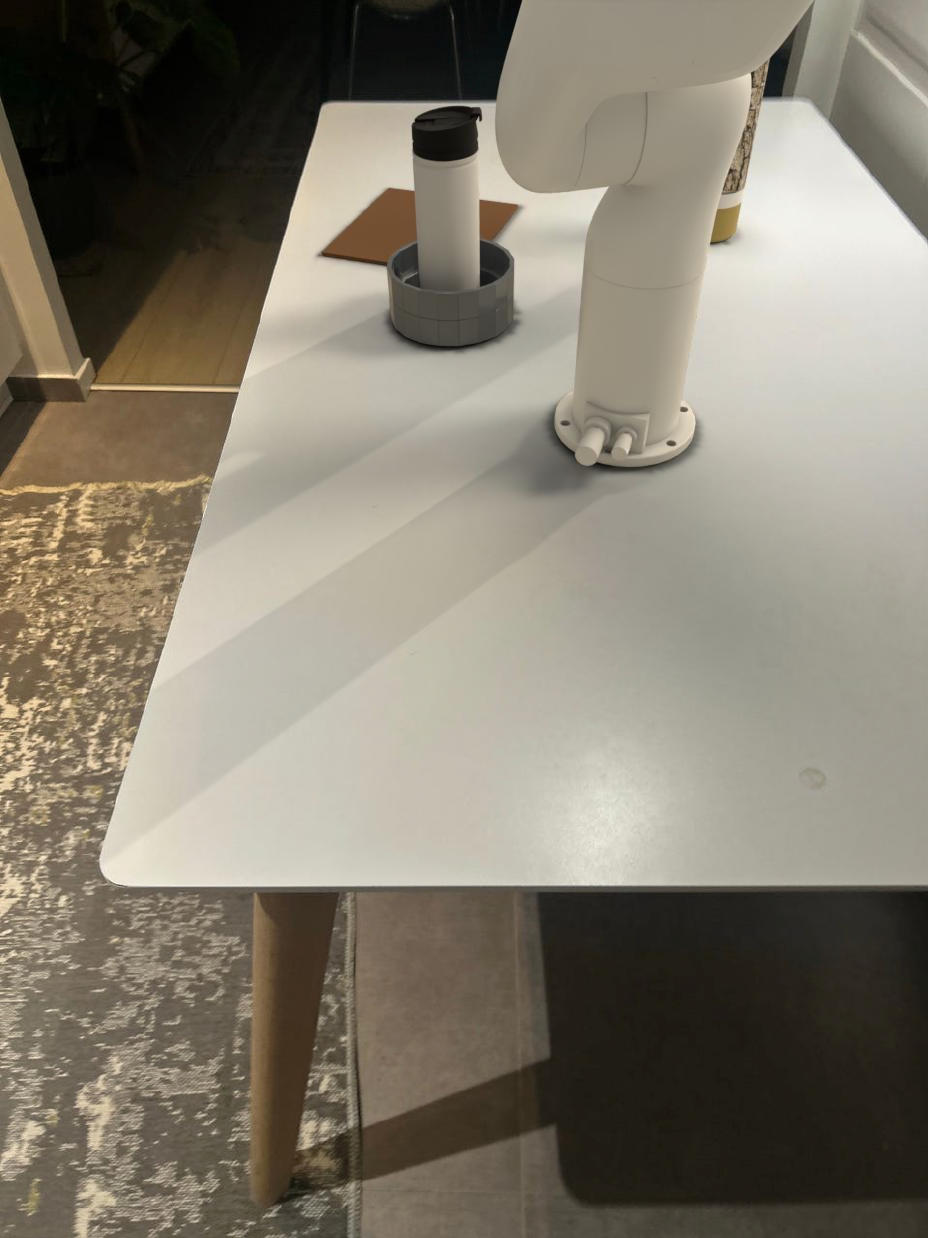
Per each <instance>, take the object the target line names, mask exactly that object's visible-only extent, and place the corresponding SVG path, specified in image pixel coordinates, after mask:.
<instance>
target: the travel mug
mask: <svg viewBox="0 0 928 1238" xmlns="http://www.w3.org/2000/svg"><path fill="white" fill-rule="evenodd" d="M477 120H478V122H479V123H480V122H482V121H483V111H482V108H481V107H480V106H472V107H471V106H468V105H448V106H441V107H437V108H432V109H430V110H427V111H425V112H422V113H420V114H418V115H417V116H416V117H414V121H413V122H412V123H411V140H412V144H411V145H412V149H411V153H412V171H413V191H415V209H416V227H417V244H418V262H419V280H420V288H421V289H427V290H434V291H462V290H469V289H476V288H479V287H480V243H479V200H480V157H479V154H480V148H479V140H478V138H479V131H478V125H477V124H478V123H477Z"/></svg>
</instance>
